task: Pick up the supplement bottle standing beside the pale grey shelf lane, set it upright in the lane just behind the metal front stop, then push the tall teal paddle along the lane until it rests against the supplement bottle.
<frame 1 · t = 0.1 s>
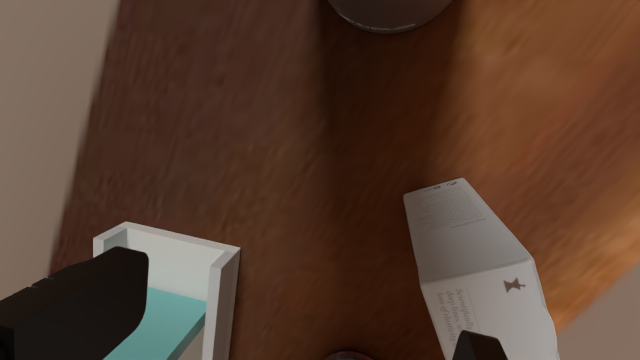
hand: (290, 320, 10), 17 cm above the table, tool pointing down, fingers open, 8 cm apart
lane: (174, 352, 33), on the table
pusher: (111, 355, 23), point 8 cm above the table, slide at 0.0 cm
skincare box: (446, 225, 26), on the table
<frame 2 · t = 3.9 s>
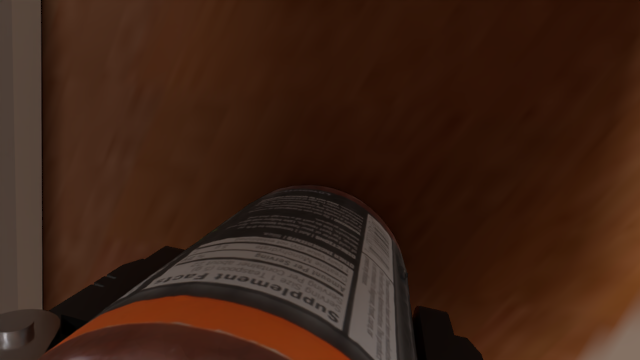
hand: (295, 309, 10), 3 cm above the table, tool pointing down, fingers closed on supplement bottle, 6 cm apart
supplement bottle: (315, 265, 13), on the table, touching gripper
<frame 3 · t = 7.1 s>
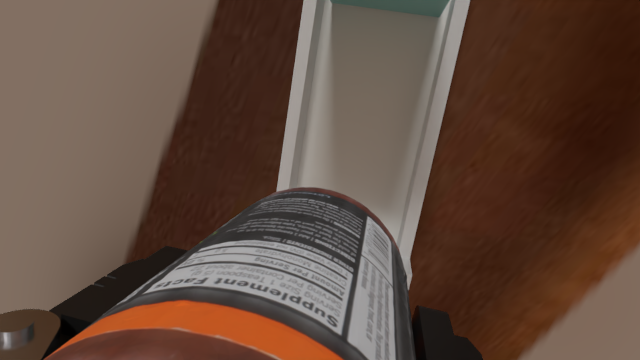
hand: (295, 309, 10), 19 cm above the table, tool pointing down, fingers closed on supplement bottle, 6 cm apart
supplement bottle: (315, 267, 13), point 16 cm above the table, touching gripper
lane: (369, 95, 27), on the table
when the fingers open (5 cm above the table, at t = 10.5 s): supplement bottle drops 1 cm, resting on lane.
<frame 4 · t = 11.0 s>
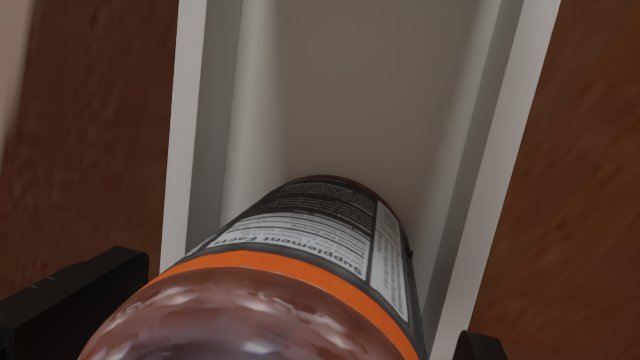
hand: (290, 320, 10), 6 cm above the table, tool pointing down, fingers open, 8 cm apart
supplement bottle: (328, 248, 14), point 1 cm above the table, touching lane
lane: (353, 85, 14), on the table
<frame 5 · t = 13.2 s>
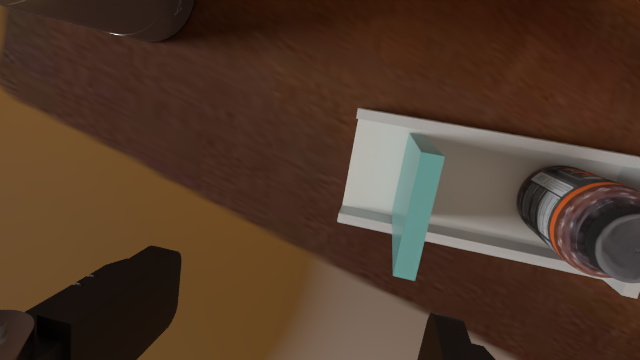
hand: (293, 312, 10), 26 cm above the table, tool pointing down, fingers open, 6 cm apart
supplement bottle: (552, 198, 32), point 1 cm above the table, touching lane
lane: (475, 184, 33), on the table
pusher: (411, 191, 26), point 8 cm above the table, slide at 0.0 cm
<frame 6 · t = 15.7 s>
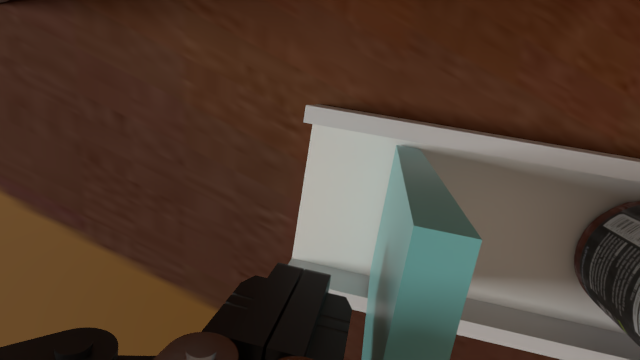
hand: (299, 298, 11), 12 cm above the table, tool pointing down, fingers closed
supplement bottle: (632, 253, 19), point 1 cm above the table, touching lane
lane: (503, 227, 21), on the table
pusher: (397, 262, 14), point 8 cm above the table, slide at 0.1 cm, touching gripper
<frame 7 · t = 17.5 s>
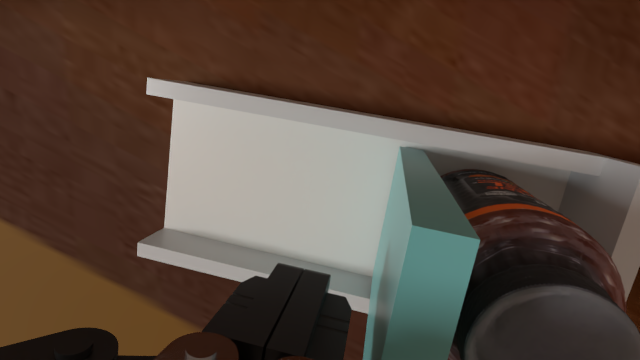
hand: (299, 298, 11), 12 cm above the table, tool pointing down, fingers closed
supplement bottle: (465, 220, 20), point 1 cm above the table, touching lane, pusher
lane: (355, 198, 22), on the table
pusher: (399, 263, 14), point 8 cm above the table, slide at 8.4 cm, touching supplement bottle, gripper
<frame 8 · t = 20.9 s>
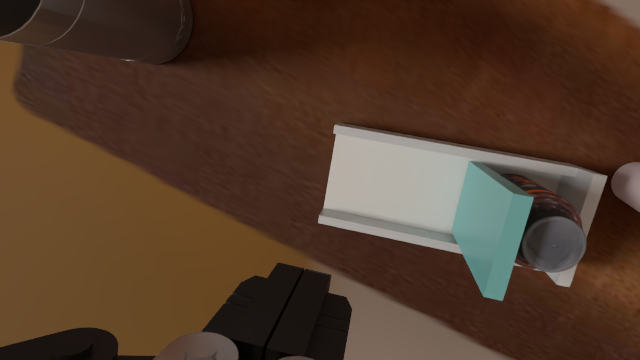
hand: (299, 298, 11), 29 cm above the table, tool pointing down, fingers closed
supplement bottle: (504, 201, 36), point 1 cm above the table, touching lane, pusher
lane: (439, 189, 38), on the table
pusher: (482, 218, 30), point 8 cm above the table, slide at 8.4 cm, touching supplement bottle
smoothie: (632, 181, 35), on the table
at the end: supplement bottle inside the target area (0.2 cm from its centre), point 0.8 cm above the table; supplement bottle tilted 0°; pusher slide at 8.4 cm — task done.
